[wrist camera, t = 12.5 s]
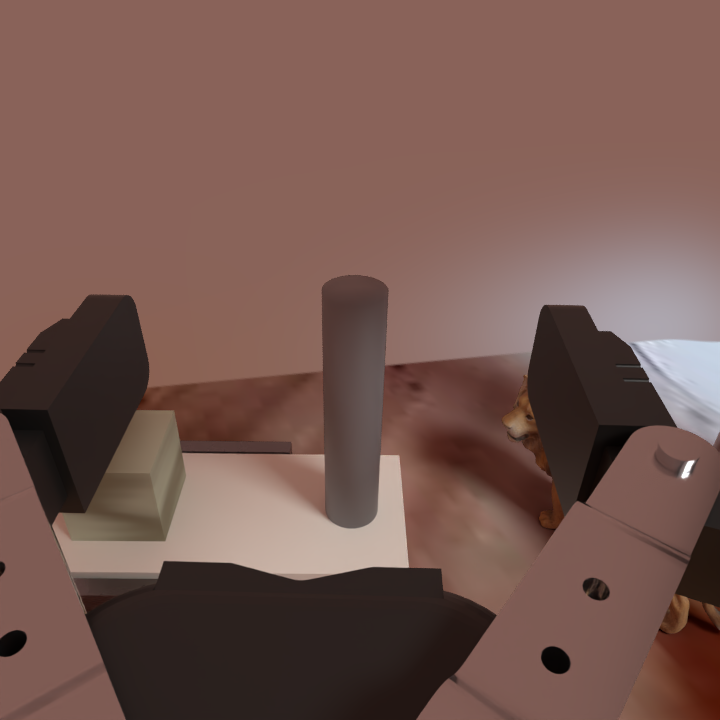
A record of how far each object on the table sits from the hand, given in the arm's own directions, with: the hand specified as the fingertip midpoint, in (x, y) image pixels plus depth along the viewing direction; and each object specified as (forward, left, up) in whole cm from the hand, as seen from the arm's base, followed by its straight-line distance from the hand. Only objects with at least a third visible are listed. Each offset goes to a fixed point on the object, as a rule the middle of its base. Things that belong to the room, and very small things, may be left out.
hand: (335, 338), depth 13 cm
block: (+12, -15, -20) cm, 28 cm away
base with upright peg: (+7, -15, -22) cm, 27 cm away
